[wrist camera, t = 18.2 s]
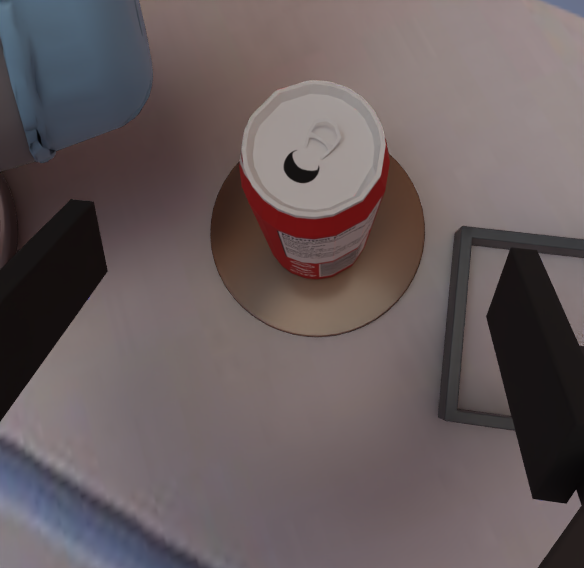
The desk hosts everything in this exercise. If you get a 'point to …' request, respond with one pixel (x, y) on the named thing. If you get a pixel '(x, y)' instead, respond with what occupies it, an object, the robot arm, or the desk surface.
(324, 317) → the coaster
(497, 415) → the rack
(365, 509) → the desk surface
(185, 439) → the desk surface
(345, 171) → the soda can
